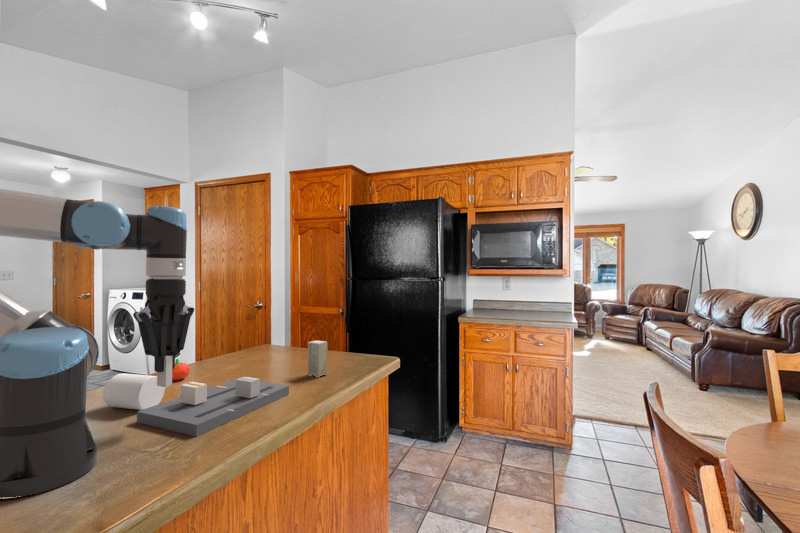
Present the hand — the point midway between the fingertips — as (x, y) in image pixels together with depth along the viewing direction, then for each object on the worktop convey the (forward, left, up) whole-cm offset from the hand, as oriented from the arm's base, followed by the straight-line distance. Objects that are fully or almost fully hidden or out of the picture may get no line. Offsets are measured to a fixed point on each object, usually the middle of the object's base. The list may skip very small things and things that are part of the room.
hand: (164, 385), depth 85 cm
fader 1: (+8, 0, -6) cm, 10 cm away
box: (+49, -7, -9) cm, 50 cm away
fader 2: (+17, -8, -6) cm, 19 cm away
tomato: (+26, +29, -9) cm, 40 cm away
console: (+14, -2, -9) cm, 16 cm away
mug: (+7, +17, -9) cm, 20 cm away
